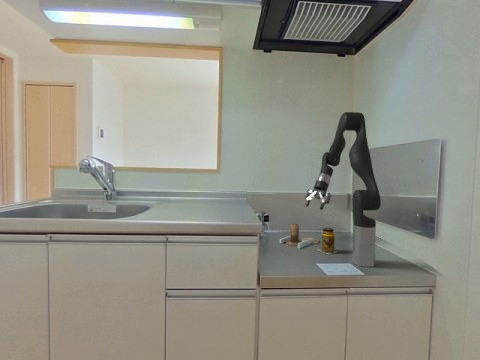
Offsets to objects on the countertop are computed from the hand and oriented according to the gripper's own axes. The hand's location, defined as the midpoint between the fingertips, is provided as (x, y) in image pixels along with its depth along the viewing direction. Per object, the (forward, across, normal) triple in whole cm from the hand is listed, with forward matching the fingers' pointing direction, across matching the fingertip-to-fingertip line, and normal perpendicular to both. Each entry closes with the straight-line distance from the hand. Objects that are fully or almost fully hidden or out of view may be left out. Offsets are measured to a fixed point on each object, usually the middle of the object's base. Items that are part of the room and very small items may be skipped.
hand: (313, 207), depth 155 cm
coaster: (+17, 0, +12) cm, 20 cm away
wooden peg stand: (+22, -5, +3) cm, 23 cm away
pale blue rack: (+21, -5, +5) cm, 22 cm away
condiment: (+21, +14, +1) cm, 26 cm away
